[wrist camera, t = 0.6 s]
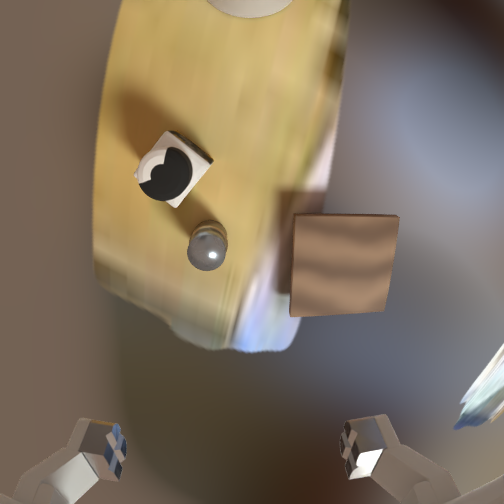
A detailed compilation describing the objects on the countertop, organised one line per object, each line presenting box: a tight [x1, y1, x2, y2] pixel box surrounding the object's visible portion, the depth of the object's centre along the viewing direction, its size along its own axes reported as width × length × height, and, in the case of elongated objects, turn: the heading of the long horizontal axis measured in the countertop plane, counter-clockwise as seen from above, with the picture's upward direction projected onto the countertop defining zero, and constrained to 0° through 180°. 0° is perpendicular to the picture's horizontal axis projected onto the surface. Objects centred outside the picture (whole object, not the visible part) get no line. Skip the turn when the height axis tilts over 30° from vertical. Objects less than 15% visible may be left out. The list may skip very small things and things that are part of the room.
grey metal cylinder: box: [187, 220, 228, 271], centre depth 46 cm, size 5×5×7 cm
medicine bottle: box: [134, 131, 214, 208], centre depth 39 cm, size 7×7×12 cm
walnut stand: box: [289, 214, 400, 317], centre depth 49 cm, size 16×16×4 cm
